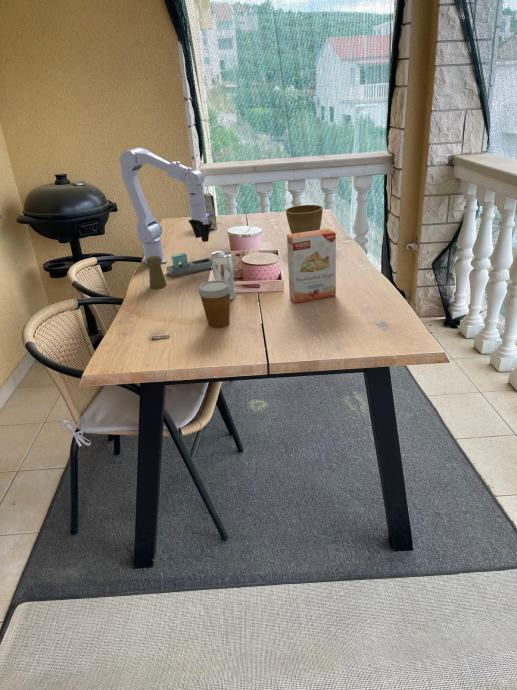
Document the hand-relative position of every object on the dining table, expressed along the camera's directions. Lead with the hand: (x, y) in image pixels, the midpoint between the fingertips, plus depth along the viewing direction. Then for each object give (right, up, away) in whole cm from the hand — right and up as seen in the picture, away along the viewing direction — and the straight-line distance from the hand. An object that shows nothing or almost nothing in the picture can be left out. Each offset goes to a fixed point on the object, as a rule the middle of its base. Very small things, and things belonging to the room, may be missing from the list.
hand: (202, 239), depth 202 cm
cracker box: (+39, -26, -36) cm, 59 cm away
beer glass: (+11, -25, -30) cm, 41 cm away
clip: (-8, -13, -3) cm, 15 cm away
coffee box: (-2, +17, +56) cm, 58 cm away
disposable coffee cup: (+10, -35, -48) cm, 60 cm away
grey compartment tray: (-4, -12, -1) cm, 13 cm away
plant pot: (+42, -1, +14) cm, 44 cm away
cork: (-14, -20, -14) cm, 28 cm away
